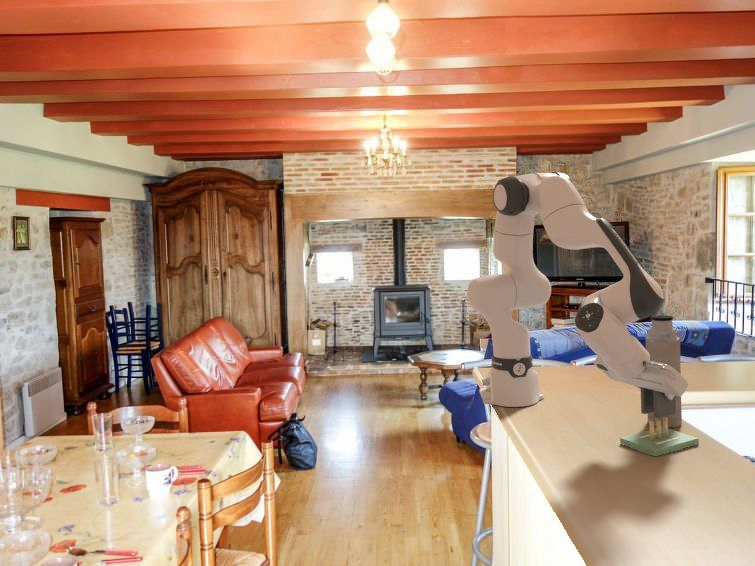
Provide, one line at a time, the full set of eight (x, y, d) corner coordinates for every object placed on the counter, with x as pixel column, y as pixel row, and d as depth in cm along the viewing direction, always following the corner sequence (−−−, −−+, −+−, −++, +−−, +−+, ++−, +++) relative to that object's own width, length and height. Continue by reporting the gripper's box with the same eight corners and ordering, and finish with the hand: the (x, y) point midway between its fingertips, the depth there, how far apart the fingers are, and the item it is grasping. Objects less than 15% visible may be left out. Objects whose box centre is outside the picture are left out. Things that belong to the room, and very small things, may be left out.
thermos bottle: (646, 417, 161) (643, 313, 159) (679, 418, 159) (677, 313, 156) (649, 427, 154) (646, 318, 151) (684, 428, 151) (681, 318, 149)
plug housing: (657, 417, 138) (656, 382, 137) (641, 413, 142) (640, 378, 141) (675, 413, 140) (674, 378, 140) (659, 408, 144) (658, 375, 144)
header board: (655, 457, 135) (654, 430, 134) (620, 443, 144) (619, 419, 143) (698, 444, 140) (698, 419, 140) (662, 432, 149) (661, 408, 149)
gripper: (674, 354, 128) (706, 392, 132) (601, 342, 146) (632, 375, 151) (659, 378, 126) (693, 416, 131) (588, 362, 145) (619, 396, 149)
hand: (660, 394), depth 141 cm, fingers closed on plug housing, 4 cm apart
